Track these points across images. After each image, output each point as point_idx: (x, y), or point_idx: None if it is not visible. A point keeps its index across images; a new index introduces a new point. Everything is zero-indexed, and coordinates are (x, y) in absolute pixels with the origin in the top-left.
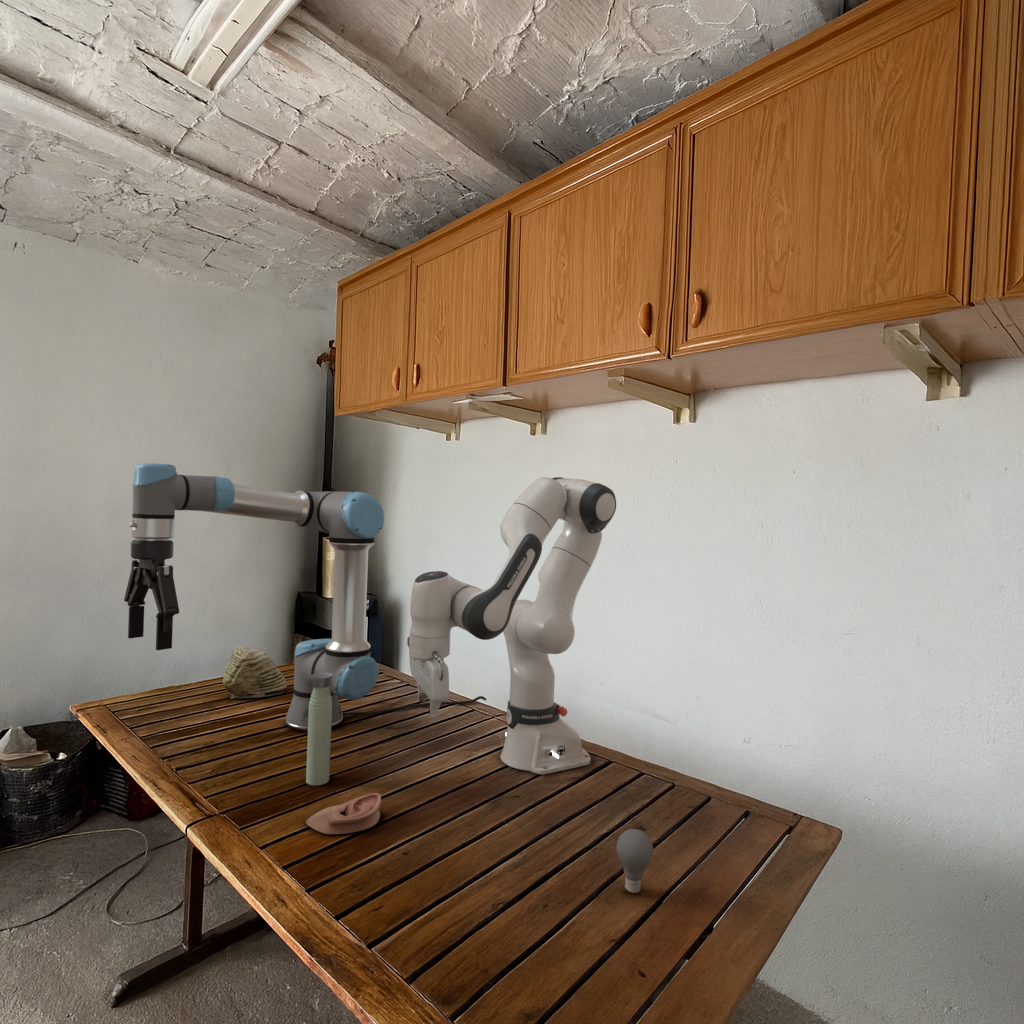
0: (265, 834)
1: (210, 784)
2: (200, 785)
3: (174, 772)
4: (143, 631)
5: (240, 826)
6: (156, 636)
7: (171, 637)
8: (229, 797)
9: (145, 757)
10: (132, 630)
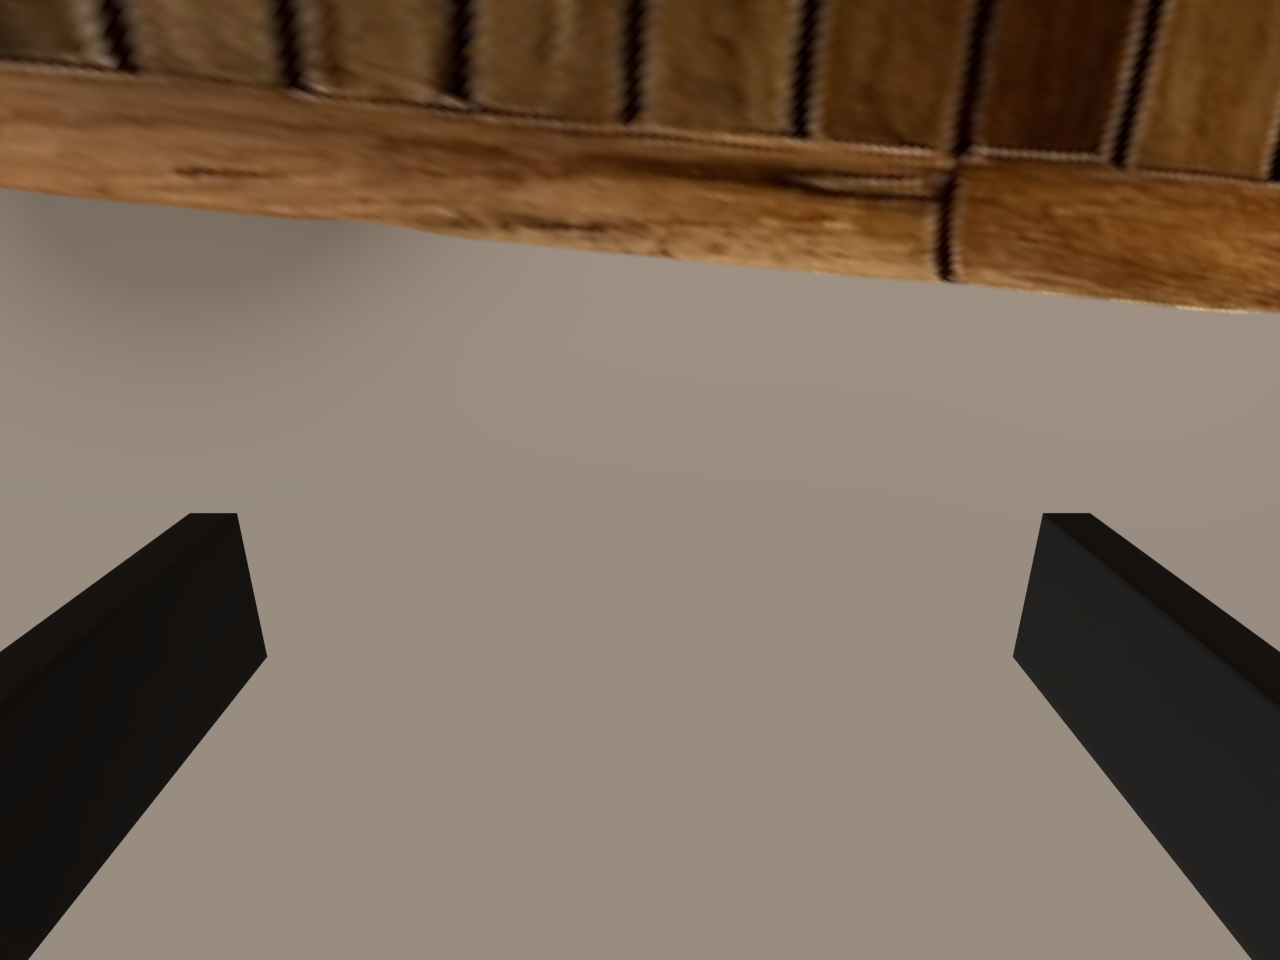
0: (1224, 118)
1: (703, 58)
2: (682, 95)
3: (482, 116)
4: (201, 545)
5: (1101, 153)
6: (1106, 765)
7: (1178, 588)
8: (872, 61)
9: (237, 139)
10: (213, 689)
